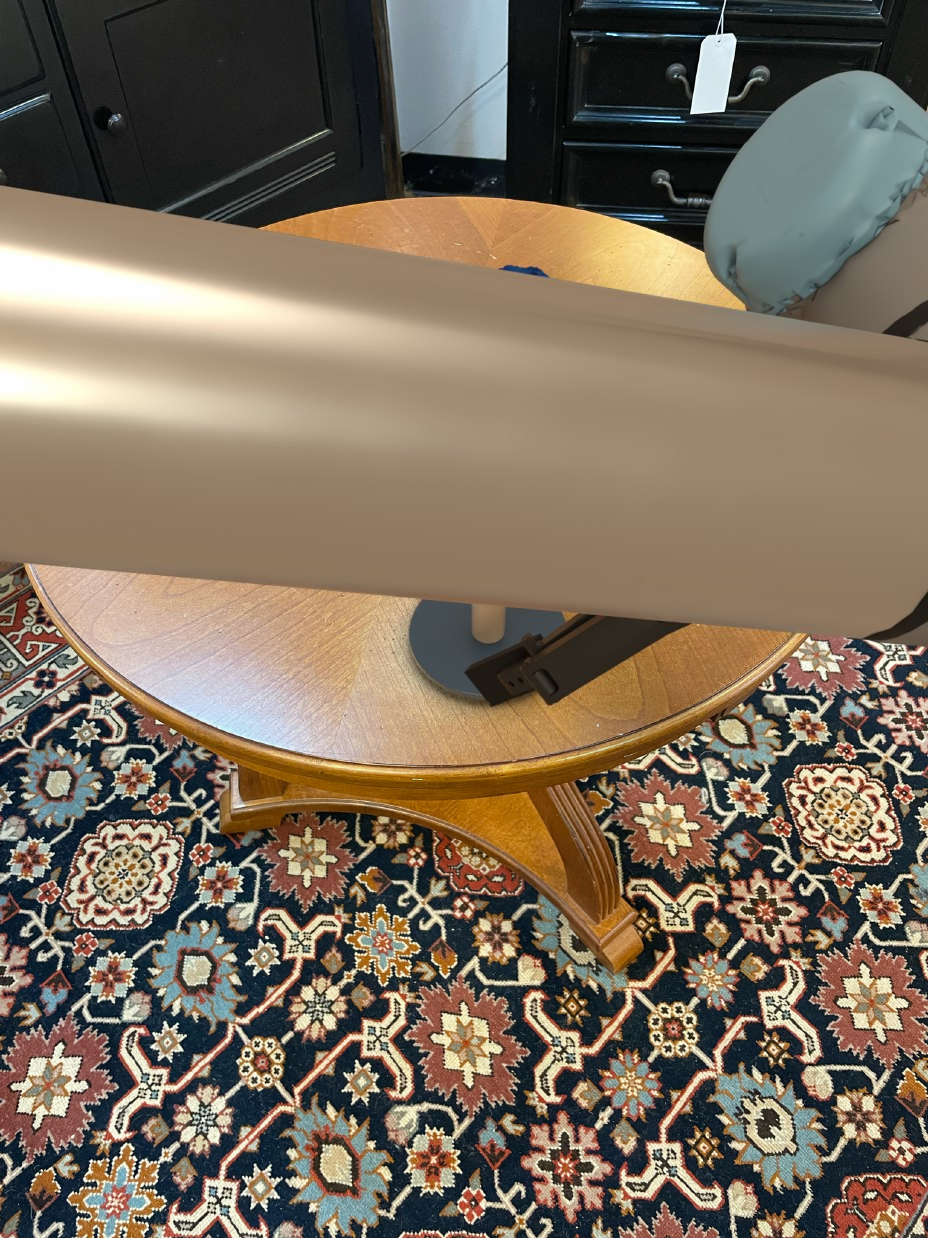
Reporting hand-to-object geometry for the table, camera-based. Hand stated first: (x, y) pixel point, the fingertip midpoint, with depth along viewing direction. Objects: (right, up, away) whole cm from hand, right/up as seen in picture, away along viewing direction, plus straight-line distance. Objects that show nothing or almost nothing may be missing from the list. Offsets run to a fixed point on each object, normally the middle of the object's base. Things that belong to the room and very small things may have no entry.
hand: (537, 622), depth 61 cm
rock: (-2, +32, +41) cm, 53 cm away
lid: (-3, -1, +13) cm, 13 cm away
